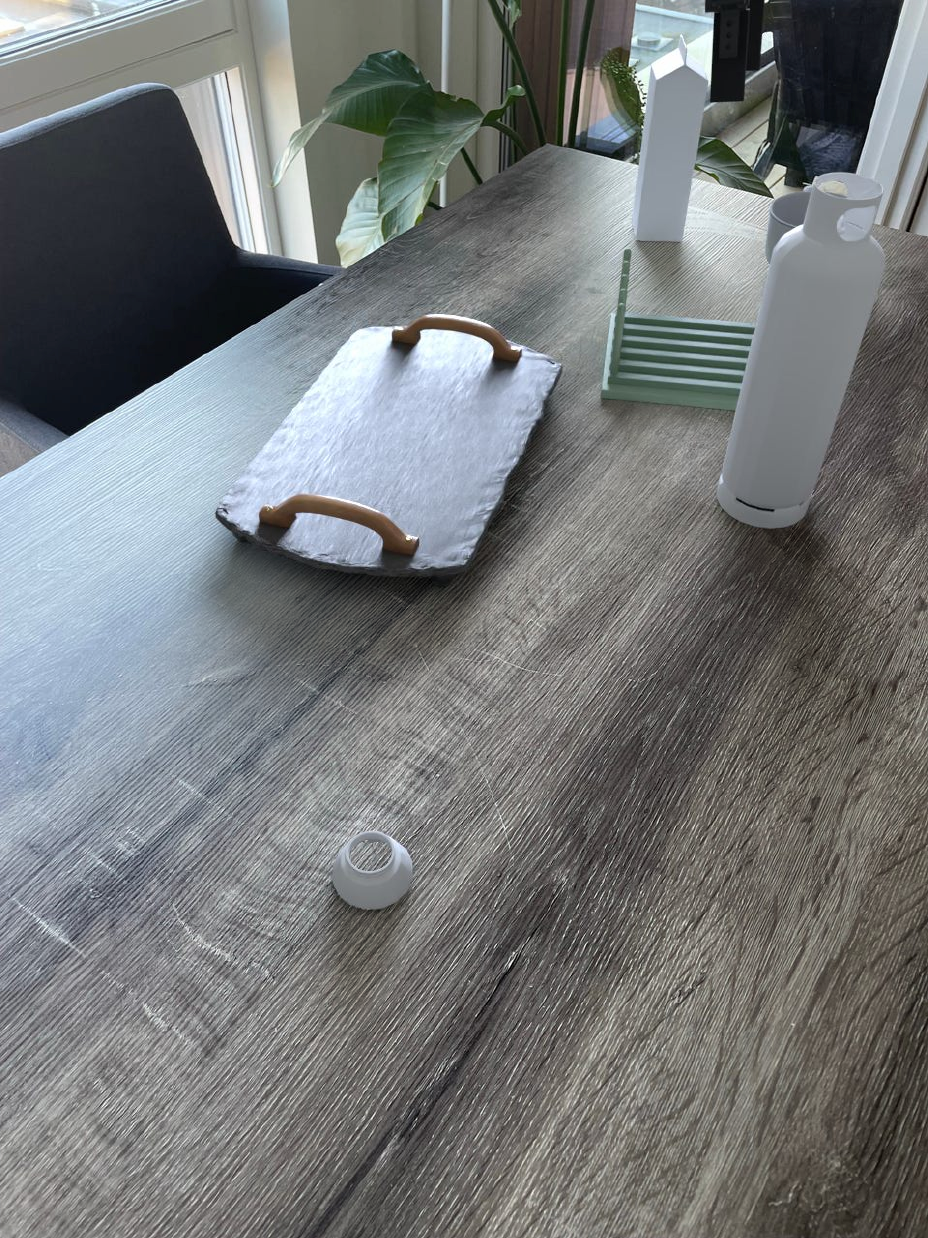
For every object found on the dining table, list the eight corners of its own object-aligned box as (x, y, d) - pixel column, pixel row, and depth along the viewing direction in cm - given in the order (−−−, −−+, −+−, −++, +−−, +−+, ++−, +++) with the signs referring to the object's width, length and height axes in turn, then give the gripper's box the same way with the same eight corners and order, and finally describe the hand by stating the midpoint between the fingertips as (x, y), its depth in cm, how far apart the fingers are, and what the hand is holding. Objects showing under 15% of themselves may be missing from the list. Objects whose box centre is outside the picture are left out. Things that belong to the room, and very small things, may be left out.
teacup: (845, 300, 116) (865, 233, 110) (750, 285, 118) (765, 219, 113) (852, 249, 125) (871, 185, 120) (765, 236, 128) (779, 173, 122)
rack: (782, 335, 110) (803, 253, 104) (791, 416, 99) (815, 330, 93) (610, 320, 113) (619, 239, 106) (600, 398, 101) (610, 313, 95)
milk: (676, 222, 131) (708, 33, 115) (682, 242, 127) (715, 49, 111) (630, 221, 131) (655, 32, 115) (634, 241, 127) (660, 48, 111)
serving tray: (368, 336, 110) (364, 283, 105) (573, 372, 105) (578, 317, 100) (196, 560, 84) (182, 502, 80) (458, 621, 79) (457, 563, 75)
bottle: (742, 535, 87) (828, 216, 67) (701, 480, 92) (768, 169, 72) (825, 519, 88) (933, 202, 68) (780, 465, 94) (867, 158, 74)
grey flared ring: (411, 840, 65) (334, 844, 65) (409, 814, 63) (330, 819, 63) (414, 910, 62) (332, 915, 61) (412, 886, 59) (328, 891, 59)
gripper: (724, -218, 86) (711, 61, 99) (679, -227, 67) (670, 117, 80) (815, -230, 84) (790, 57, 96) (795, -244, 65) (767, 114, 78)
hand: (736, 85), depth 88 cm, fingers open, 13 cm apart
